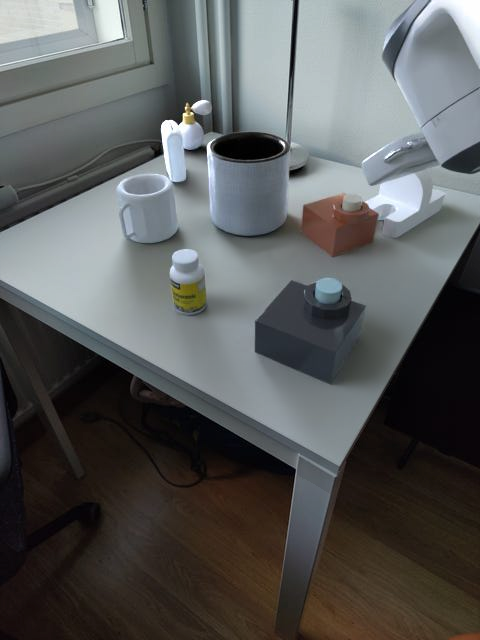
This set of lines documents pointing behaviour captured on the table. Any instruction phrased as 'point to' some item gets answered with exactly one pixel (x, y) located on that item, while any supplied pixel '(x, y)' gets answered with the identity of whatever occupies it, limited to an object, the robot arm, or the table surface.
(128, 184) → the mug
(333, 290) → the light blue push button
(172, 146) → the white rounded-top slab
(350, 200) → the round white push button
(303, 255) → the table surface
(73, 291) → the table surface
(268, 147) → the planter
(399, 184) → the tape dispenser
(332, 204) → the orange push button block
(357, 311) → the grey push button box
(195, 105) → the perfume bottle
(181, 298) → the supplement bottle
